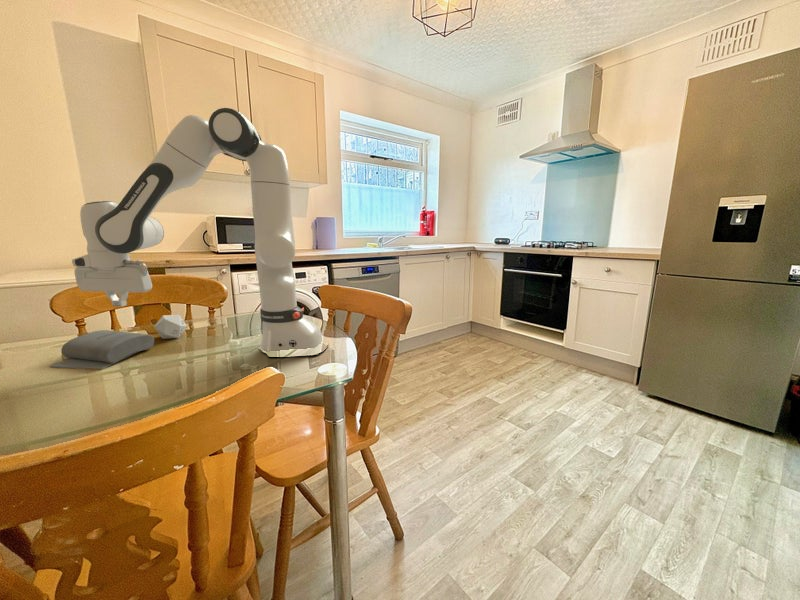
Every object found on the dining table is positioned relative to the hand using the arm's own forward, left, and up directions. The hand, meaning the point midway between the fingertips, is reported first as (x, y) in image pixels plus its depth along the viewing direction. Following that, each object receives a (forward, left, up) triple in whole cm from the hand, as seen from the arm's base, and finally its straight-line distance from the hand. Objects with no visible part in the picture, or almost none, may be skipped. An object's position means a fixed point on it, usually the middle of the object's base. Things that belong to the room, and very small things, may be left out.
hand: (119, 305), depth 96 cm
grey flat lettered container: (-1, -1, -14) cm, 14 cm away
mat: (+9, 0, -17) cm, 19 cm away
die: (0, -18, -17) cm, 25 cm away
